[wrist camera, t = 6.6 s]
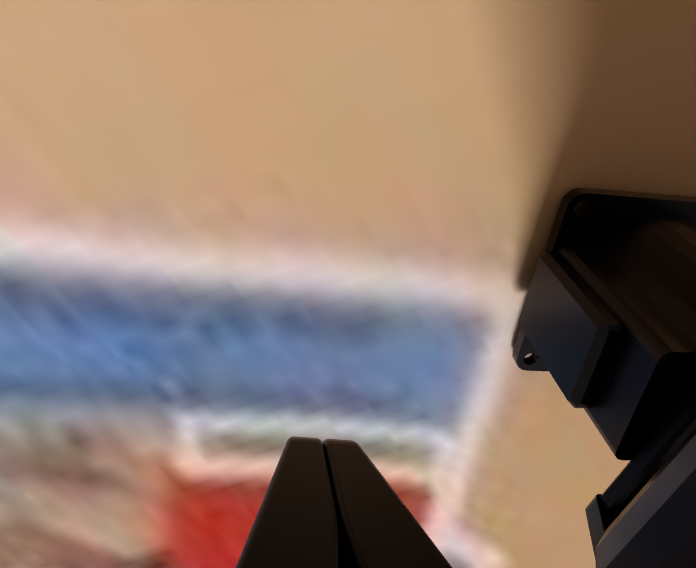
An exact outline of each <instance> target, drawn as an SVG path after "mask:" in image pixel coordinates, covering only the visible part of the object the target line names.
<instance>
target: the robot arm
mask: <svg viewBox="0 0 696 568" xmlns="http://www.w3.org/2000/svg"><path fill="white" fill-rule="evenodd" d="M581 201H584V205H583V207H582V208H581V209H580V210H578V211H574V207H575V206H576V204H578V203H579V202H581ZM519 325H520V326H521V327H520V331H519V334H518V337H517V340H516V343H515V346H514V349H513V355H512V356H513V358H514V360H515V362H516V364H517V365H518V367H519V368H521V369H522V370H527V371H549V372H550V373H551V375H552V377H553V378H554V380H555V381H556V383H557V384H558V386H559V387H560V389H561V391H562V392H563V394H564V395H565V397H566V398H567V400H568V401H569V402H570V404H571V405H572V406H573V407H574V408H584V409H585V411H586V412H587V414H588V415H589V417H590V418H591V420H592V421H593V423H594V424H595V426H596V427H597V429H598V430H599V432H600V433H601V435H602V437H603V438H604V440H605V441H606V443H607V444H608V446H609V447H610V449H611V450H612V452H613V453H614V455H615V456H616V457H617V459H620V460H631V461H630V462H629V463H628V464H627V465H626V467H625V468H624V469H623V470H622V471H621V473H620V474H619V475H618V476H617V477H616V479H615V480H614V481H613V482H612V483H611V485H610V486H609V487H608V488H607V489H606V491H605V492H604V493H603V494H597V495H596V496H595V498H594V499H593V500H592V501H591V502H590V504H589V505H588V506H587V507H586V515H587V520H588V525H589V530H590V535H591V540H592V545H593V550H594V555H595V559H596V568H696V197H684V196H672V195H660V194H648V193H636V192H624V191H612V190H600V189H588V188H576V189H573V190H571V191H569V192H568V193H567V194H566V195H565V196H564V197H563V199H562V201H561V203H560V206H559V209H558V212H557V216H556V219H555V222H554V225H553V228H552V231H551V234H550V237H549V240H548V244H547V247H546V250H545V253H543V254H542V256H541V257H540V258H539V259H538V262H537V265H536V268H535V272H534V275H533V278H532V281H531V284H530V287H529V290H528V294H527V297H526V300H525V303H524V306H523V309H522V312H521V316H520V319H519ZM529 353H533V354H532V355H531V356H529V357H526V358H524V357H525V356H526V355H527V354H529ZM236 568H452V567H451V565H450V564H449V563H448V562H447V560H446V559H445V558H444V556H443V555H442V554H441V552H440V551H439V550H438V548H437V547H436V546H435V544H434V543H433V542H432V540H431V539H430V538H429V537H428V535H427V534H426V533H425V531H424V530H423V529H422V527H421V526H420V525H419V523H418V522H417V521H416V519H415V518H414V517H413V515H412V514H411V513H410V512H409V510H408V509H407V508H406V506H405V505H404V504H403V502H402V501H401V500H400V498H399V497H398V496H397V494H396V493H395V492H394V490H393V489H392V488H391V487H390V485H389V484H388V483H387V481H386V480H385V479H384V477H383V476H382V475H381V473H380V472H379V471H378V469H377V468H376V467H375V465H374V464H373V463H372V462H371V460H370V459H369V458H368V456H367V455H366V454H365V452H364V451H363V450H362V448H361V447H360V446H359V445H358V444H357V443H356V442H354V441H351V440H336V439H327V440H325V441H323V443H322V441H321V440H320V439H318V438H307V437H291V438H289V439H288V441H287V443H286V445H285V448H284V450H283V453H282V455H281V458H280V460H279V463H278V465H277V467H276V470H275V472H274V475H273V477H272V480H271V482H270V485H269V487H268V490H267V492H266V494H265V497H264V499H263V502H262V504H261V507H260V509H259V512H258V514H257V517H256V519H255V521H254V524H253V526H252V529H251V531H250V534H249V536H248V539H247V541H246V544H245V546H244V548H243V551H242V553H241V556H240V558H239V561H238V563H237V566H236Z"/></svg>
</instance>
